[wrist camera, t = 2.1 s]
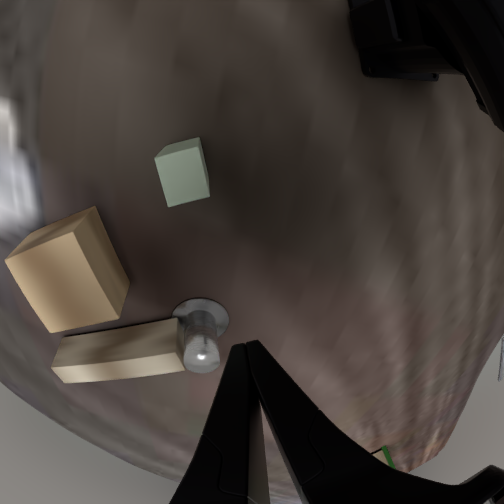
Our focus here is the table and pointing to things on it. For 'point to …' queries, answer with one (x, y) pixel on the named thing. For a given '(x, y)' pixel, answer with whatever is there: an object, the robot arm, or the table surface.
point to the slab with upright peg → (501, 361)
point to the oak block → (71, 272)
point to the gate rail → (121, 353)
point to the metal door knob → (201, 332)
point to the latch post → (183, 172)
